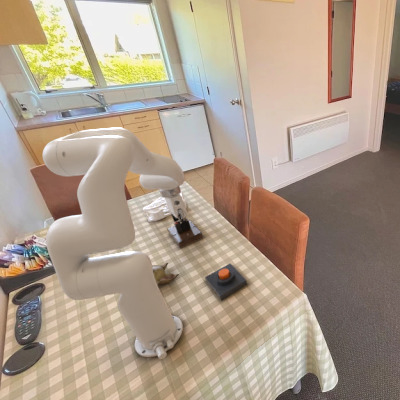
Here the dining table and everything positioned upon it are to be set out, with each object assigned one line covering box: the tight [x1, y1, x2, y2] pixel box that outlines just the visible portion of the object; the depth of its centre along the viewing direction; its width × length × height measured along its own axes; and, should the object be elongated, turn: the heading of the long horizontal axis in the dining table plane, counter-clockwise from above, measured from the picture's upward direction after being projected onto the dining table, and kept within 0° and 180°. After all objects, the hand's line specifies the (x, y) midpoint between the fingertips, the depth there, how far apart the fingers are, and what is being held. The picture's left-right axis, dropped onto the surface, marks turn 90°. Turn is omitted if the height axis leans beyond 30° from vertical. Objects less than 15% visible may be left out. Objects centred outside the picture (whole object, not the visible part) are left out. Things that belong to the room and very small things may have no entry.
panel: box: [167, 219, 204, 249], centre depth 120 cm, size 14×10×3 cm
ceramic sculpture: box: [152, 262, 180, 286], centre depth 94 cm, size 11×9×15 cm
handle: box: [173, 218, 191, 234], centre depth 118 cm, size 6×2×5 cm, turn 133°
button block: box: [205, 263, 248, 301], centre depth 96 cm, size 12×10×4 cm
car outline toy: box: [142, 190, 188, 223], centre depth 136 cm, size 20×11×7 cm, turn 137°
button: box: [218, 269, 230, 280], centre depth 94 cm, size 4×4×2 cm
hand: (181, 224), depth 117 cm, fingers open, 9 cm apart
